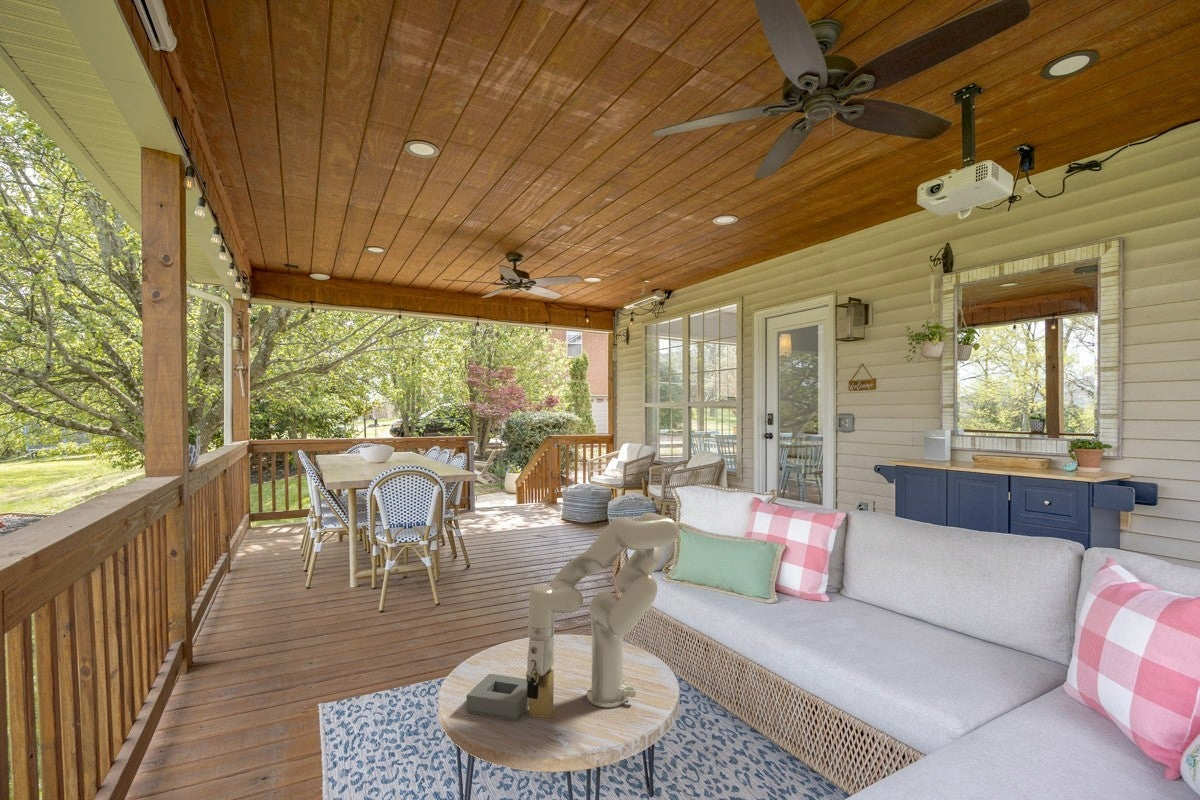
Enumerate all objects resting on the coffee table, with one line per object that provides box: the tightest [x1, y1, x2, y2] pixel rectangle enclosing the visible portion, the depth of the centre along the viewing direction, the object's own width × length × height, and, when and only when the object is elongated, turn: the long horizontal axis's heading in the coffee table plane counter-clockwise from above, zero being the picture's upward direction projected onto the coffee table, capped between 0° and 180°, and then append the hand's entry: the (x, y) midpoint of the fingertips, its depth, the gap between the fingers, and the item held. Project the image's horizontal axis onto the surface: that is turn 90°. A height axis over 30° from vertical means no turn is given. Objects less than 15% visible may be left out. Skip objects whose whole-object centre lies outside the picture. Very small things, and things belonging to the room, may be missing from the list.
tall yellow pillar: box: [528, 669, 555, 719], centre depth 160 cm, size 6×4×12 cm, turn 74°
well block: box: [465, 673, 529, 722], centre depth 165 cm, size 16×14×5 cm
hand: (539, 690), depth 160 cm, fingers open, 9 cm apart
